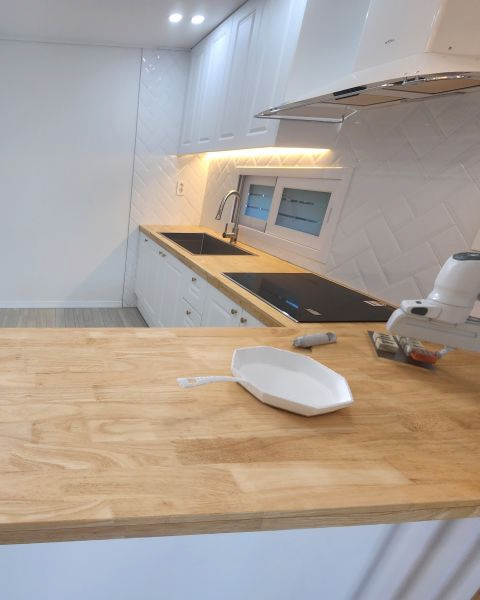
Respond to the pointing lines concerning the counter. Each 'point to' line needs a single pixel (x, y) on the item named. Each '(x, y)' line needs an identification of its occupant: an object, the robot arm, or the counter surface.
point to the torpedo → (315, 339)
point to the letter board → (399, 355)
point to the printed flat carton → (405, 345)
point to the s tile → (424, 356)
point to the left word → (385, 342)
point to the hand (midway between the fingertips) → (423, 355)
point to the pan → (284, 381)
